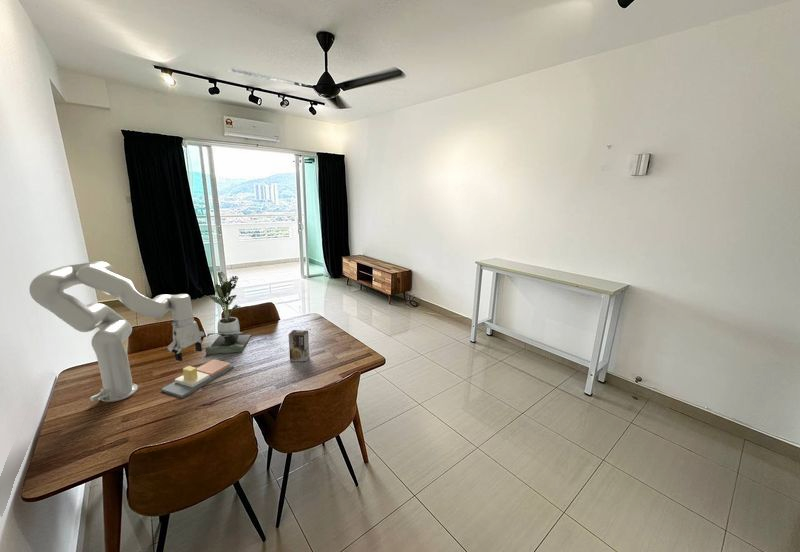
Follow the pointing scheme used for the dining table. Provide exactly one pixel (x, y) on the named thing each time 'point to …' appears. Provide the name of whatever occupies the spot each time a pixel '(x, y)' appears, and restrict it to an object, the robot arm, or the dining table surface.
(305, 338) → the coffee box
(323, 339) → the dining table surface
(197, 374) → the butter dish
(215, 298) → the potted plant
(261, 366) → the dining table surface
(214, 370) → the board
